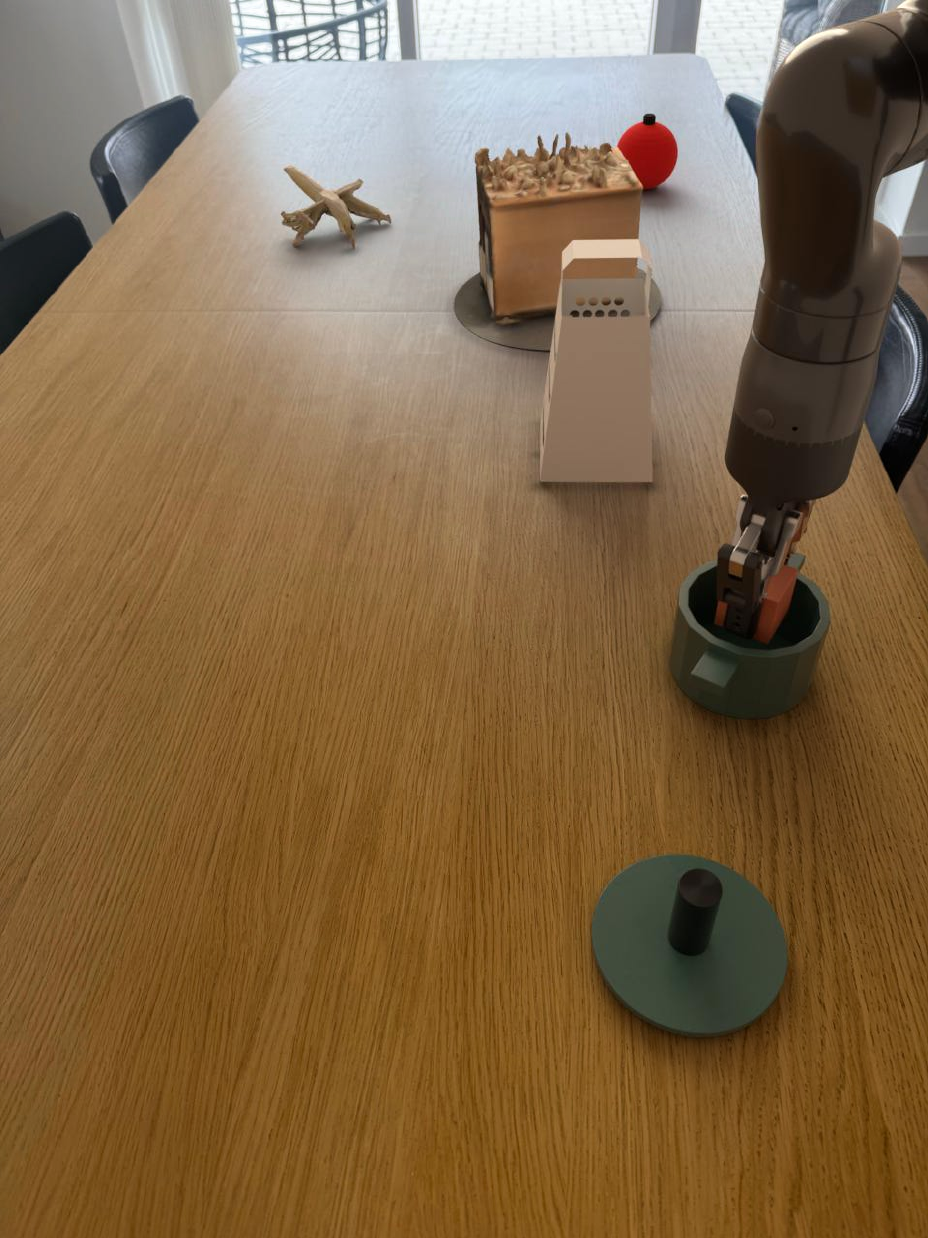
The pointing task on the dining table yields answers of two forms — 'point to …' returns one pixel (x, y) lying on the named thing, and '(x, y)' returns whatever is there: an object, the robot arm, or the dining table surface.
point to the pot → (746, 650)
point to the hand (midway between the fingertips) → (751, 612)
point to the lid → (689, 945)
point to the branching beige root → (328, 207)
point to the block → (770, 604)
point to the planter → (547, 238)
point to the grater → (599, 376)
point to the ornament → (649, 151)
